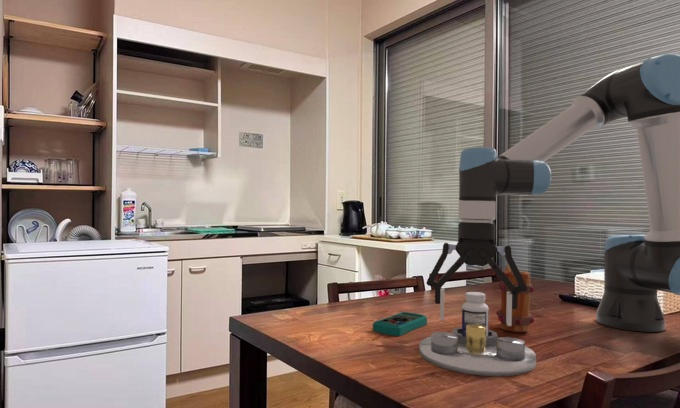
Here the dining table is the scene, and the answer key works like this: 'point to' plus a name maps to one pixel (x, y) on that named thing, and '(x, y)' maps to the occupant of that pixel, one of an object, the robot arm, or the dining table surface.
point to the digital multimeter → (400, 323)
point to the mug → (521, 314)
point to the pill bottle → (475, 311)
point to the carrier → (478, 352)
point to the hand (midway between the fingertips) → (474, 322)
